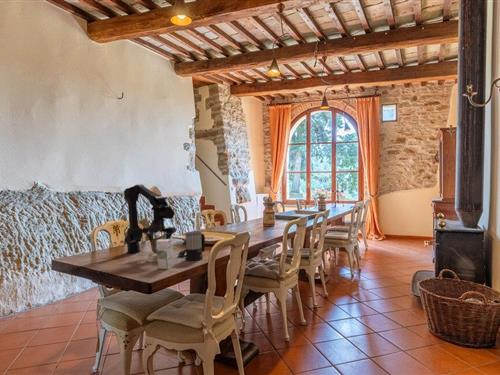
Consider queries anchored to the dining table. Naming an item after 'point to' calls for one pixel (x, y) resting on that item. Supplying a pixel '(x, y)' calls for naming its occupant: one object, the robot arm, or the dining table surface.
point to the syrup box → (164, 253)
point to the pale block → (152, 257)
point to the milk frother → (194, 246)
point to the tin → (153, 243)
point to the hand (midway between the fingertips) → (159, 245)
